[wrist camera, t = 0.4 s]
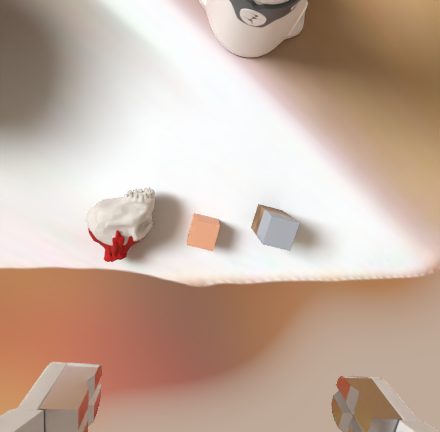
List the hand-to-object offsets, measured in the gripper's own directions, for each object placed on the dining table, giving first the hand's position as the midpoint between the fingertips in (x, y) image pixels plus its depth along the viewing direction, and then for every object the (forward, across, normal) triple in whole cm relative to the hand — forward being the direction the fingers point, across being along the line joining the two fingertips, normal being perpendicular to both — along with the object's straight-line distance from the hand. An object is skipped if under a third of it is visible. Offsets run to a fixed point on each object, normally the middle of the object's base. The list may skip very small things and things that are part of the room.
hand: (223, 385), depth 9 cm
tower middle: (+39, -14, +4) cm, 42 cm away
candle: (+45, +14, +7) cm, 47 cm away
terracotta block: (+44, -1, +7) cm, 45 cm away
